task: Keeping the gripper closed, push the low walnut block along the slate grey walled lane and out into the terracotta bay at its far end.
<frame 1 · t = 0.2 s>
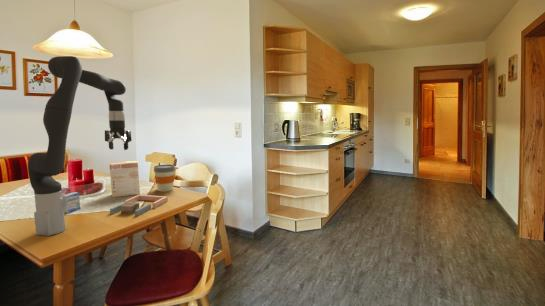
hand: (118, 149, 170), 29 cm above the table, tool pointing down, fingers open, 8 cm apart
medicine box: (70, 211, 157), on the table
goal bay: (145, 203, 169), on the table
coffeecake box: (126, 194, 186), on the table
walnut block: (130, 211, 156), on the table
channel: (131, 211, 156), on the table
reusable coffee cup: (165, 189, 198), on the table
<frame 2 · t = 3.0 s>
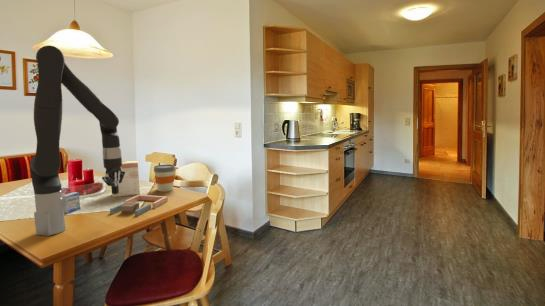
hand: (115, 193, 145), 12 cm above the table, tool pointing down, fingers closed
nothing on the table moved.
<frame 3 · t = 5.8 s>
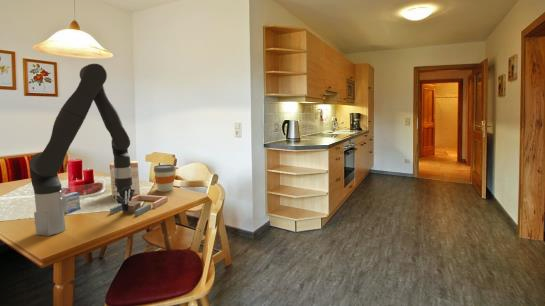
hand: (125, 211, 152), 2 cm above the table, tool pointing down, fingers closed
walnut block: (132, 211, 157), on the table
everything else where it was.
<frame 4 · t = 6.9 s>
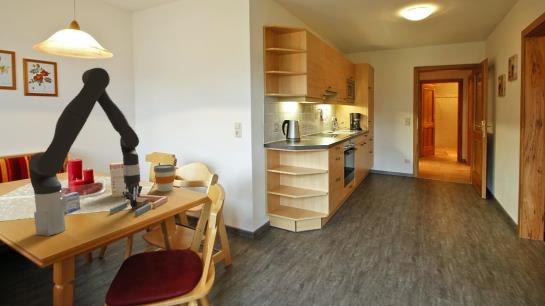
hand: (133, 206, 158), 2 cm above the table, tool pointing down, fingers closed
walnut block: (140, 207, 163), on the table, touching gripper
everything else where it was.
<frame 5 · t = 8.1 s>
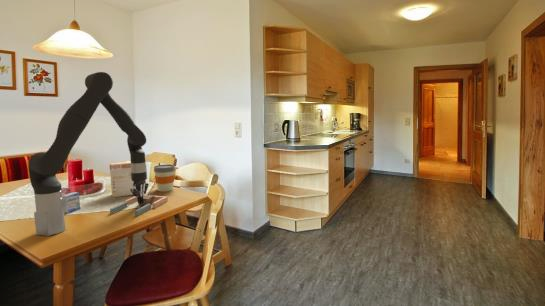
hand: (140, 203, 164), 2 cm above the table, tool pointing down, fingers closed
walnut block: (146, 204, 169), on the table
everything else where it was.
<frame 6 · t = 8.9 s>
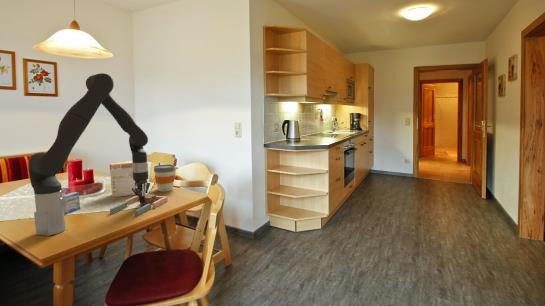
hand: (142, 202, 165), 2 cm above the table, tool pointing down, fingers closed
walnut block: (148, 203, 170), on the table
everything else where it was.
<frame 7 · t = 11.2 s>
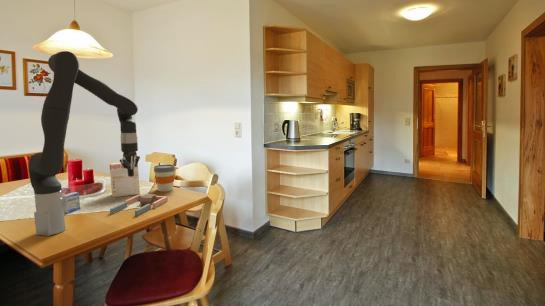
hand: (131, 176, 157), 17 cm above the table, tool pointing down, fingers closed
nothing on the table moved.
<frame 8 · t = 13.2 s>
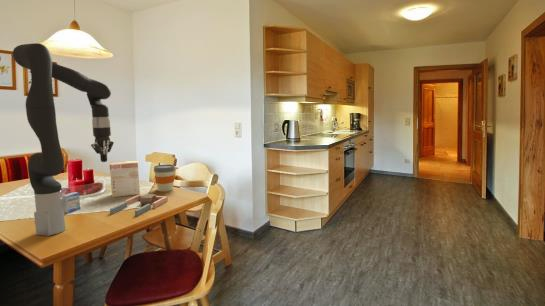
hand: (104, 161, 154), 25 cm above the table, tool pointing down, fingers closed
nothing on the table moved.
at the end: walnut block inside the target area on the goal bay (1.1 cm from its centre), point 0.0 cm above the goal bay's base; walnut block tilted 0°; walnut block moved 15.0 cm from its start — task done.
